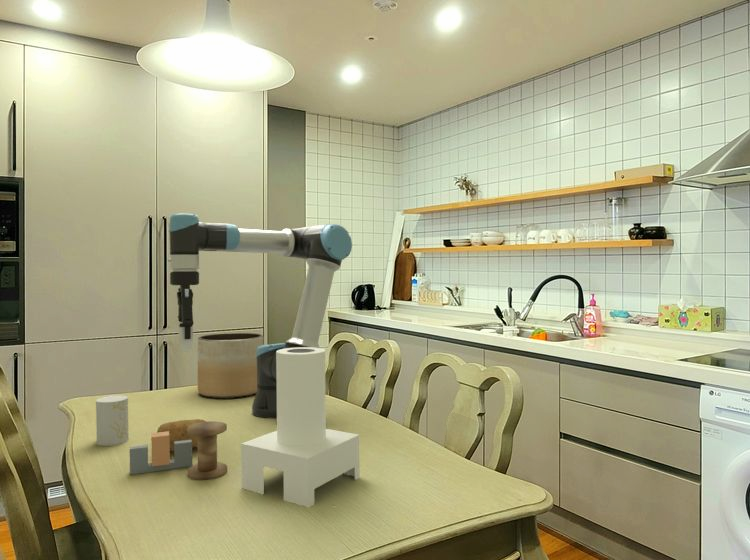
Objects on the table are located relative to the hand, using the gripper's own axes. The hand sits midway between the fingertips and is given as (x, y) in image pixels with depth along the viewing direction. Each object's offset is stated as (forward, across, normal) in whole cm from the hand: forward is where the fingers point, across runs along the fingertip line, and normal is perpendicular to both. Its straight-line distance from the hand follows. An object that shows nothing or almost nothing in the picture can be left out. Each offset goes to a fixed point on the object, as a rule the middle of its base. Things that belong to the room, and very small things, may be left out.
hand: (185, 348), depth 153 cm
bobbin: (+27, +24, +3) cm, 36 cm away
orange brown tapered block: (+25, +17, -7) cm, 31 cm away
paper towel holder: (+27, +39, +22) cm, 52 cm away
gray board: (+27, +17, -7) cm, 32 cm away
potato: (+27, +4, -1) cm, 27 cm away
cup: (+27, -12, -19) cm, 35 cm away
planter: (+27, -62, +21) cm, 71 cm away
